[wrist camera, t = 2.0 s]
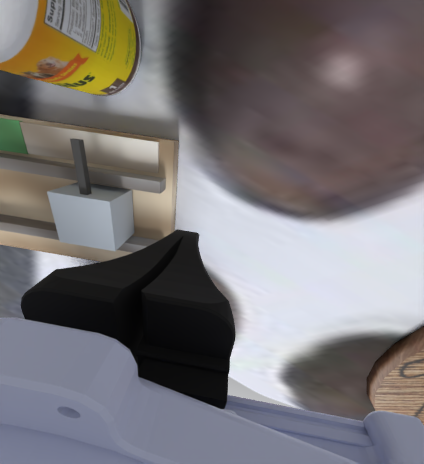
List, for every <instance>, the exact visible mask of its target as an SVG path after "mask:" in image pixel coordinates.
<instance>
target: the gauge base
mask: <svg viewBox="0 0 424 464" xmlns="http://www.w3.org/2000/svg"><path fill="white" fill-rule="evenodd" d="M70 139H82V140H84V147H85V153H86V160H87V166H88V173H89V179H90V183H92V184H98V185H104V186H111V187H117V188H123V189H130V190H132V198H133V216H134V234H133V235H132V236H131V237H130V238H129V239H128V240H126V241H125V242H124V243H123V244H122V245H121V246H120V247H119V248H118V249H117V250H116V251H110V250H105V249H99V248H93V247H87V246H81V245H75V244H69V243H63V242H60V240H59V236H58V233H57V229H56V225H55V221H54V217H53V213H52V209H51V206H50V202H49V198H48V194H47V192H48V191H51V190H54V189H57V188H61V187H64V186H67V185H71V184H74V183H77V182H78V180H77V175H76V169H75V164H74V158H73V153H72V147H71V142H70ZM178 146H179V141H178V140H171V139H164V138H158V137H151V136H144V135H137V134H131V133H124V132H117V131H110V130H103V129H97V128H90V127H83V126H76V125H70V124H63V123H56V122H49V121H43V120H36V119H29V118H22V117H15V116H9V115H2V114H0V244H1V245H7V246H13V247H19V248H24V249H30V250H36V251H42V252H48V253H53V254H59V255H65V256H71V257H77V258H83V259H88V260H94V261H100V262H104V261H108V260H112V259H115V258H119V257H122V256H125V255H128V254H131V253H134V252H136V251H139V250H141V249H143V248H145V247H147V246H149V245H151V244H153V243H155V242H157V241H159V240H161V239H162V238H164V237H166V236H168V235H169V234H171V233H173V232H174V231H175V210H176V189H177V168H178Z"/></svg>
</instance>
